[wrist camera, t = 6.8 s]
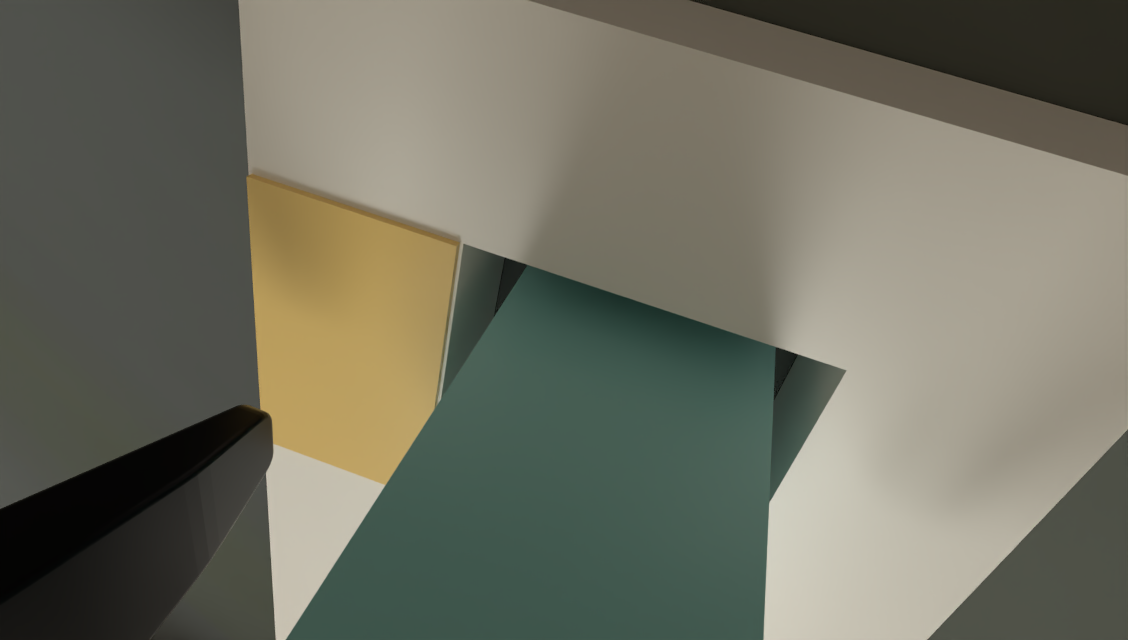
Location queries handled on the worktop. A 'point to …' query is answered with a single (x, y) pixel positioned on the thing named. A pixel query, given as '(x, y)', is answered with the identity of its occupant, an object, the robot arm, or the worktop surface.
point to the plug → (573, 486)
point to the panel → (690, 267)
